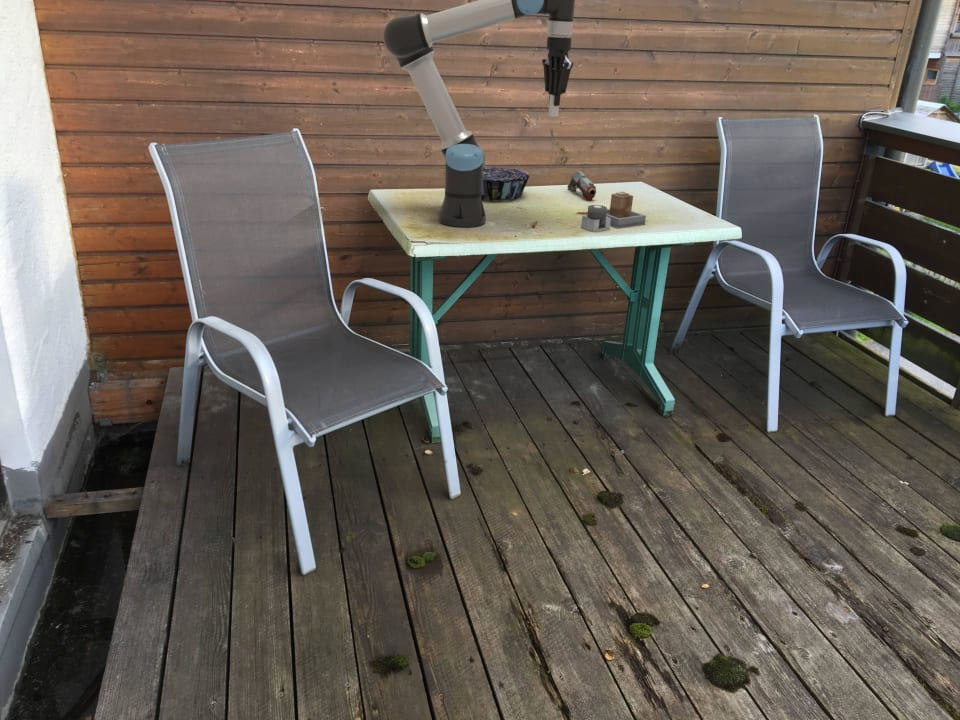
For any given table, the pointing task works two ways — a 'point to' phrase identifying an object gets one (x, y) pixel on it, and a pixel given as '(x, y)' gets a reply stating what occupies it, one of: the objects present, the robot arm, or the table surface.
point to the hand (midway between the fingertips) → (553, 116)
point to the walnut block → (621, 205)
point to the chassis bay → (627, 220)
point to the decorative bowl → (502, 183)
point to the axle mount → (595, 223)
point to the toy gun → (582, 185)
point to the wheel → (597, 211)
